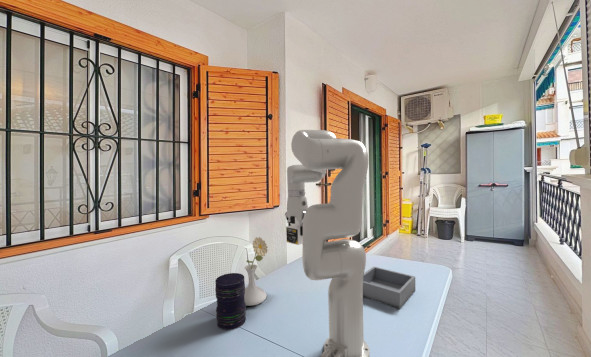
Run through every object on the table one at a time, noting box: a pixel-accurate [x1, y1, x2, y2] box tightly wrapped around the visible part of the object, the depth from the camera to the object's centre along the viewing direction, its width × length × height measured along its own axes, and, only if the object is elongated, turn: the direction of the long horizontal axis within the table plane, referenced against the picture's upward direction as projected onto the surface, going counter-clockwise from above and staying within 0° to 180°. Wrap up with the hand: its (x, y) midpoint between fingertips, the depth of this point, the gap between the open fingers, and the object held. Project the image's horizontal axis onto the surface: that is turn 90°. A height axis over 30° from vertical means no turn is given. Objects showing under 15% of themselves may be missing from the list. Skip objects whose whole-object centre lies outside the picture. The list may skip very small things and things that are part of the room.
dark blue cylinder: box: [214, 272, 247, 331], centre depth 89 cm, size 10×10×15 cm
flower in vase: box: [244, 236, 269, 307], centre depth 102 cm, size 13×11×25 cm
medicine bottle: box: [285, 216, 303, 246], centre depth 114 cm, size 7×7×12 cm
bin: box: [363, 266, 416, 310], centre depth 106 cm, size 18×18×6 cm
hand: (297, 233), depth 114 cm, fingers closed on medicine bottle, 7 cm apart
